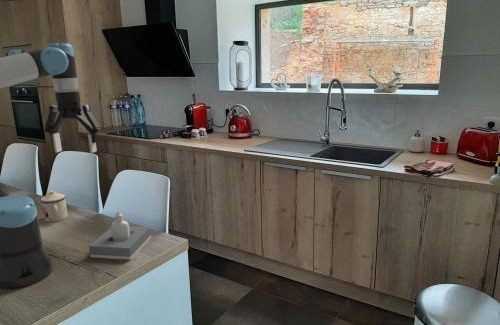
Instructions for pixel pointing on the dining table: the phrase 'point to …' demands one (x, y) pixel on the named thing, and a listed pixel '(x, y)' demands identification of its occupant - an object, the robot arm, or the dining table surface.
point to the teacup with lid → (54, 207)
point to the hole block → (120, 244)
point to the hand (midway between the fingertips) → (76, 151)
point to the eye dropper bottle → (120, 228)
